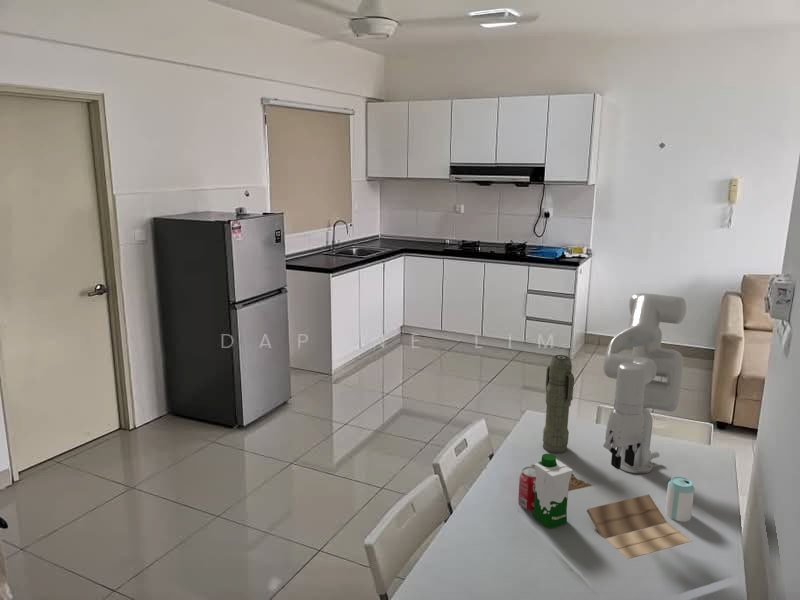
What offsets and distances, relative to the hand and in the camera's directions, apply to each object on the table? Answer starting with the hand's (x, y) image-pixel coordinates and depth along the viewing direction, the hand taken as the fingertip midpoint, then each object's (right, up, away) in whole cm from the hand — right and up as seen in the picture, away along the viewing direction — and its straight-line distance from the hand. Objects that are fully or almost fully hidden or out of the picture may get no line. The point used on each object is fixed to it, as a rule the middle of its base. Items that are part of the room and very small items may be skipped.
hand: (622, 465), depth 175 cm
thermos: (-7, -7, +47) cm, 48 cm away
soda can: (-25, -16, +9) cm, 31 cm away
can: (+18, -17, +4) cm, 25 cm away
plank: (+1, -15, 0) cm, 15 cm away
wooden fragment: (-11, -12, +25) cm, 30 cm away
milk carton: (-21, -17, +2) cm, 27 cm away
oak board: (+4, -20, -8) cm, 22 cm away
